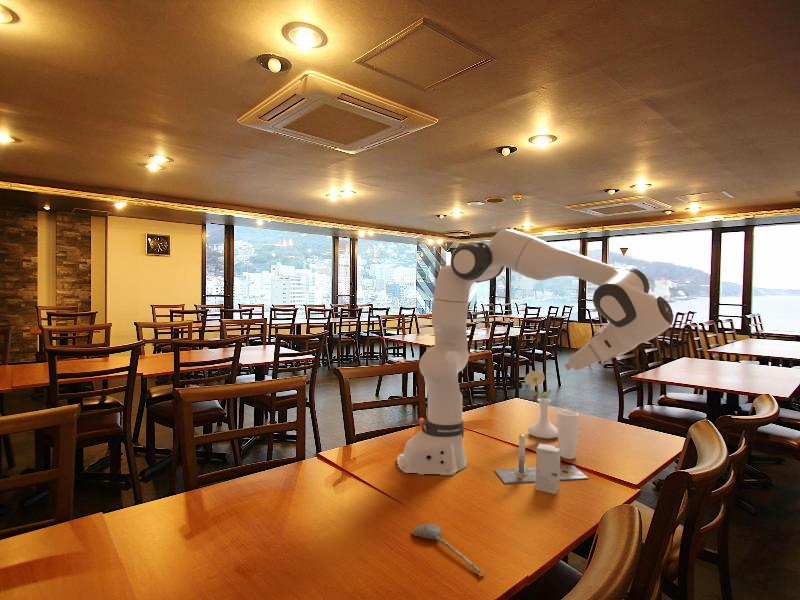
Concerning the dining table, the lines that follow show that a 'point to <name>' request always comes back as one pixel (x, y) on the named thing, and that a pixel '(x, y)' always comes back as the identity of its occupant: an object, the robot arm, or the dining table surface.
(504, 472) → the bolt-hole strip
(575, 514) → the dining table surface
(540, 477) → the skincare box
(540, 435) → the flower in vase
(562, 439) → the drinking glass
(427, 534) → the soupspoon
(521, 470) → the steel pin
